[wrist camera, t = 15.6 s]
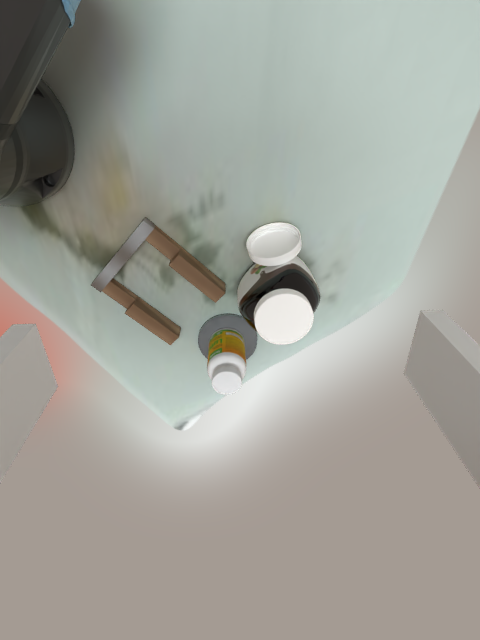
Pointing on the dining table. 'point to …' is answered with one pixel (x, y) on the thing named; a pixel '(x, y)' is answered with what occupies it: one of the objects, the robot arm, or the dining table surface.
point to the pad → (227, 322)
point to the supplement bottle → (226, 360)
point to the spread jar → (278, 285)
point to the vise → (179, 262)
